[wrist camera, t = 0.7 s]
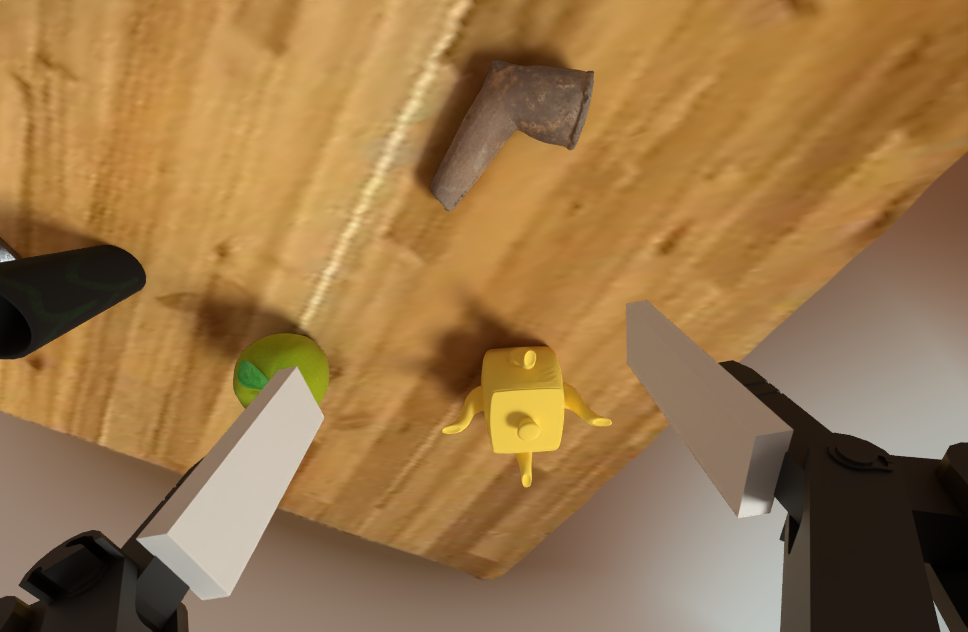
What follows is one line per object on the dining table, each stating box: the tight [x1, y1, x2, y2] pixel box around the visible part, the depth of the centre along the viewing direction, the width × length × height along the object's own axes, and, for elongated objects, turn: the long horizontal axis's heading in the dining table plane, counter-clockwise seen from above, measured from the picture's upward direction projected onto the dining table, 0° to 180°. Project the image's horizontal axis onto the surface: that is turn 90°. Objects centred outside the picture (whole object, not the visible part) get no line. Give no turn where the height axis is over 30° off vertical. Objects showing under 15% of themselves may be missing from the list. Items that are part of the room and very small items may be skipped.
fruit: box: [233, 333, 329, 409], centre depth 39 cm, size 9×9×10 cm
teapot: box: [442, 346, 612, 487], centre depth 42 cm, size 15×14×10 cm
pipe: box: [430, 60, 594, 211], centre depth 32 cm, size 6×17×10 cm
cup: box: [0, 245, 146, 359], centre depth 32 cm, size 8×8×12 cm
